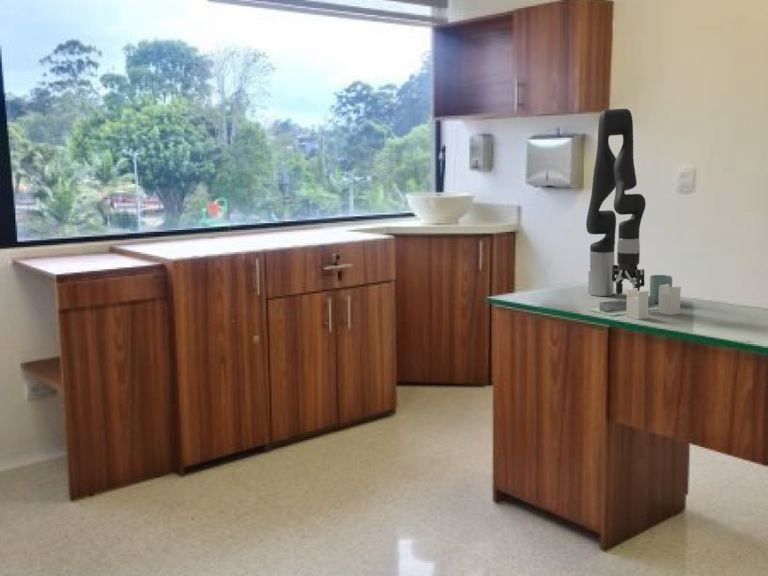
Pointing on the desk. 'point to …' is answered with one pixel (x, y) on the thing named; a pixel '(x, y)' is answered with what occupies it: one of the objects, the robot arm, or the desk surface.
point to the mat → (620, 311)
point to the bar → (619, 305)
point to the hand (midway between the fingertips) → (627, 295)
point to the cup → (654, 285)
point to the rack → (639, 302)
